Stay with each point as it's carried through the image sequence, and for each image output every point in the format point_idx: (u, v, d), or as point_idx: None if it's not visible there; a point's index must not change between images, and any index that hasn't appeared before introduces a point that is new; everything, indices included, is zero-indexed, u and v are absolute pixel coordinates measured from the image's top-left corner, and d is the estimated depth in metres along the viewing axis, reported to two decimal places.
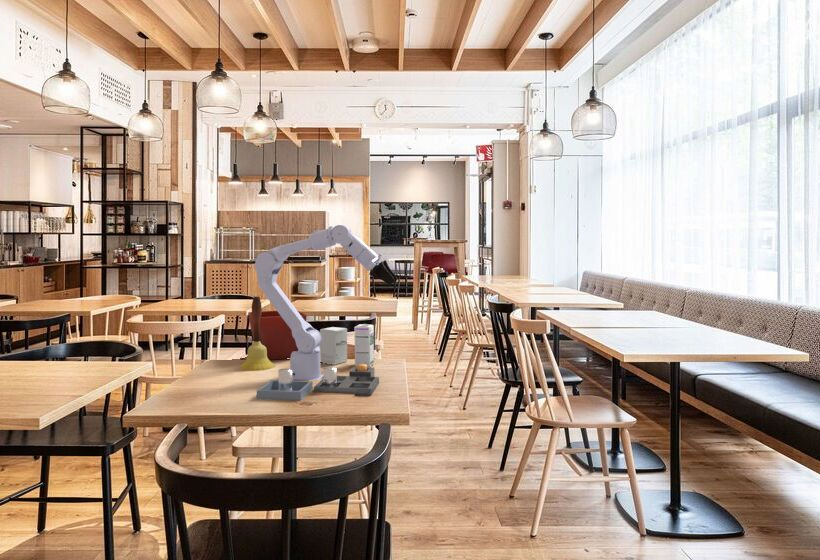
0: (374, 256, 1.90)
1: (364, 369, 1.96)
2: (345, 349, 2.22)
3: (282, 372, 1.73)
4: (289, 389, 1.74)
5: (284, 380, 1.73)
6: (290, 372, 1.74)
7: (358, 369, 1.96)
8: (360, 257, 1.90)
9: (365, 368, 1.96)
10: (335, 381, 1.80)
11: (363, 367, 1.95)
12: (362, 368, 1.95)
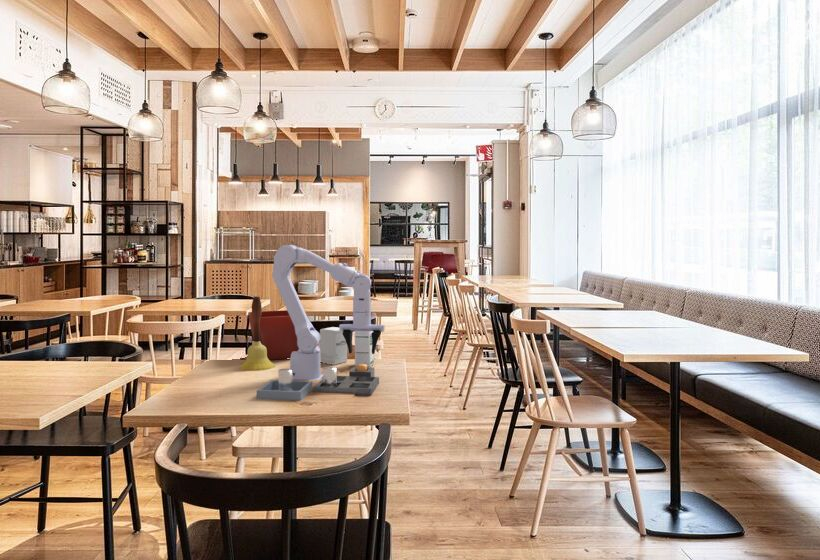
0: None
1: (364, 369, 1.96)
2: (345, 349, 2.22)
3: (282, 372, 1.73)
4: (289, 389, 1.74)
5: (284, 380, 1.73)
6: (290, 372, 1.74)
7: (358, 369, 1.96)
8: (369, 314, 1.94)
9: (365, 368, 1.96)
10: (335, 381, 1.80)
11: (363, 367, 1.95)
12: (362, 368, 1.95)
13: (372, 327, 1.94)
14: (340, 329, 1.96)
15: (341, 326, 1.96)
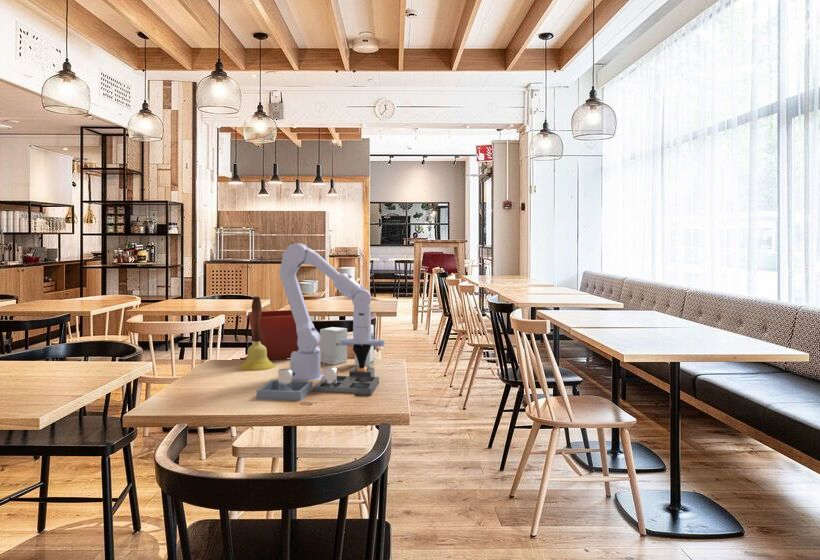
0: None
1: None
2: (345, 349, 2.22)
3: (282, 372, 1.73)
4: (289, 389, 1.74)
5: (284, 380, 1.73)
6: (290, 372, 1.74)
7: None
8: (369, 329, 1.95)
9: None
10: (335, 381, 1.80)
11: (363, 370, 1.95)
12: None
13: (372, 342, 1.94)
14: (340, 344, 1.96)
15: (341, 341, 1.96)
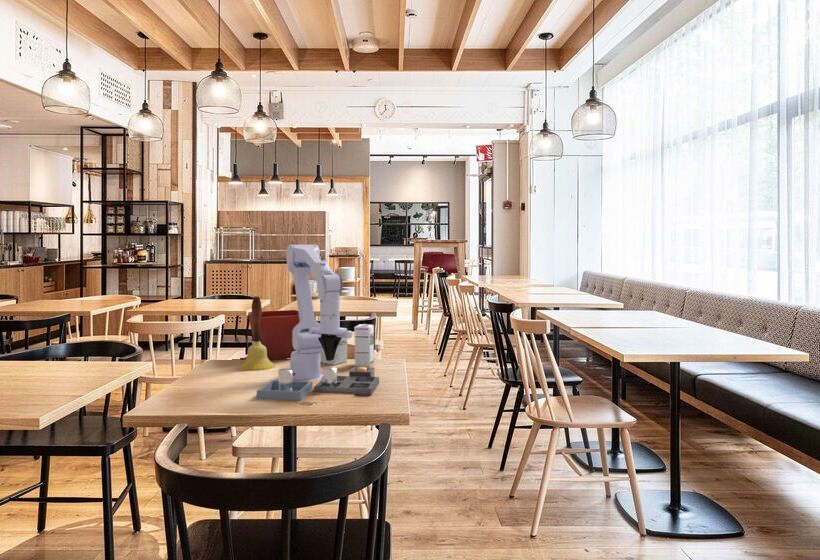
0: None
1: None
2: (345, 349, 2.22)
3: (282, 372, 1.73)
4: (289, 389, 1.74)
5: (284, 380, 1.73)
6: (290, 372, 1.74)
7: None
8: (335, 318, 1.77)
9: None
10: (335, 381, 1.80)
11: (363, 370, 1.95)
12: None
13: (336, 332, 1.76)
14: (309, 332, 1.82)
15: (310, 329, 1.82)
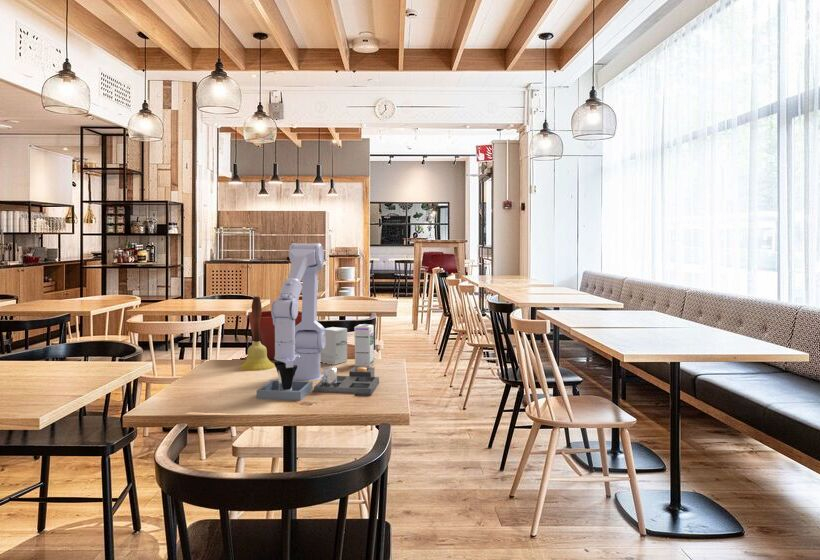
0: (293, 354, 1.73)
1: None
2: (345, 349, 2.22)
3: None
4: (289, 389, 1.74)
5: None
6: None
7: None
8: (283, 345, 1.71)
9: None
10: (335, 381, 1.80)
11: (363, 370, 1.95)
12: None
13: (280, 360, 1.70)
14: None
15: None
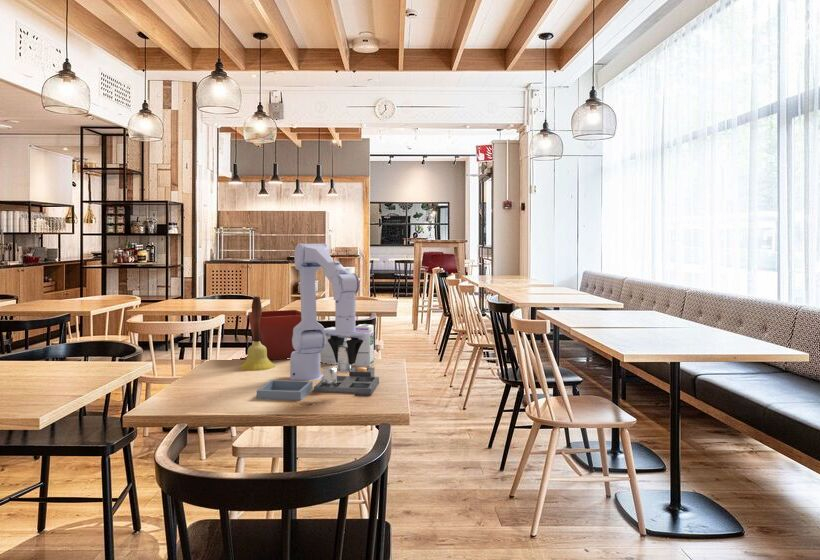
0: None
1: None
2: None
3: (346, 348, 1.71)
4: (351, 365, 1.73)
5: (348, 356, 1.71)
6: None
7: None
8: (351, 319, 1.71)
9: None
10: (335, 381, 1.80)
11: (363, 370, 1.95)
12: None
13: (352, 334, 1.70)
14: (323, 334, 1.75)
15: (324, 331, 1.75)
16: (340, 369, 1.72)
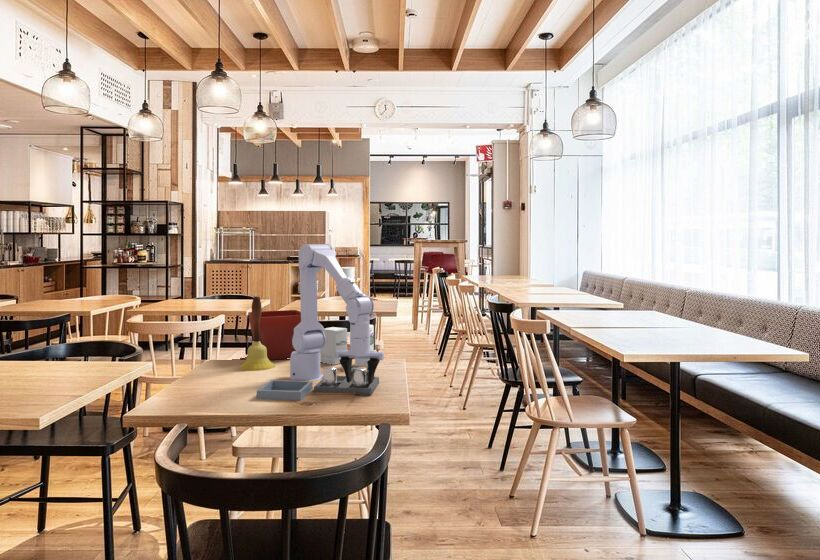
0: None
1: None
2: (345, 349, 2.22)
3: (362, 371, 1.77)
4: None
5: (364, 379, 1.78)
6: (365, 370, 1.79)
7: None
8: (367, 340, 1.77)
9: None
10: (335, 381, 1.80)
11: None
12: None
13: (370, 355, 1.76)
14: (336, 356, 1.80)
15: (337, 352, 1.80)
16: None
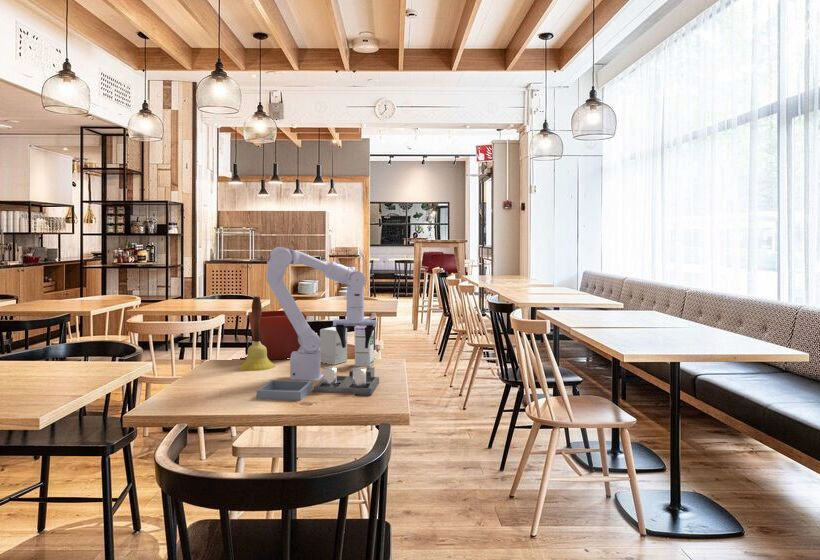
0: None
1: None
2: (345, 349, 2.22)
3: (362, 371, 1.77)
4: None
5: (364, 379, 1.78)
6: None
7: None
8: (362, 309, 1.99)
9: None
10: (335, 381, 1.80)
11: None
12: None
13: (365, 322, 1.98)
14: (334, 324, 2.00)
15: (335, 321, 2.00)
16: None
